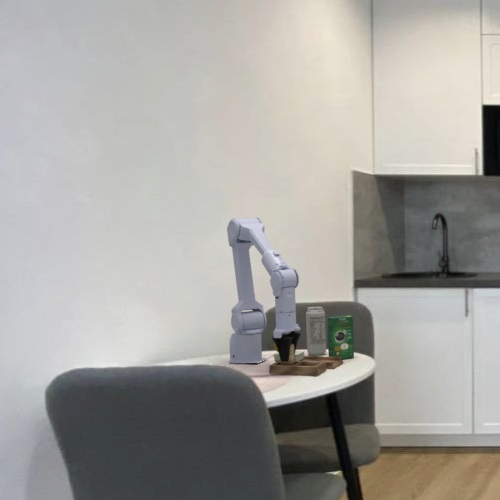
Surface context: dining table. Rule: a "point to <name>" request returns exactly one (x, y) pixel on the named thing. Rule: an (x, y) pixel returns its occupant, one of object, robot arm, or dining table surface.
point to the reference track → (330, 361)
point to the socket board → (298, 368)
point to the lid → (298, 356)
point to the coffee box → (340, 337)
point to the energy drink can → (316, 331)
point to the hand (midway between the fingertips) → (287, 359)
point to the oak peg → (291, 357)
